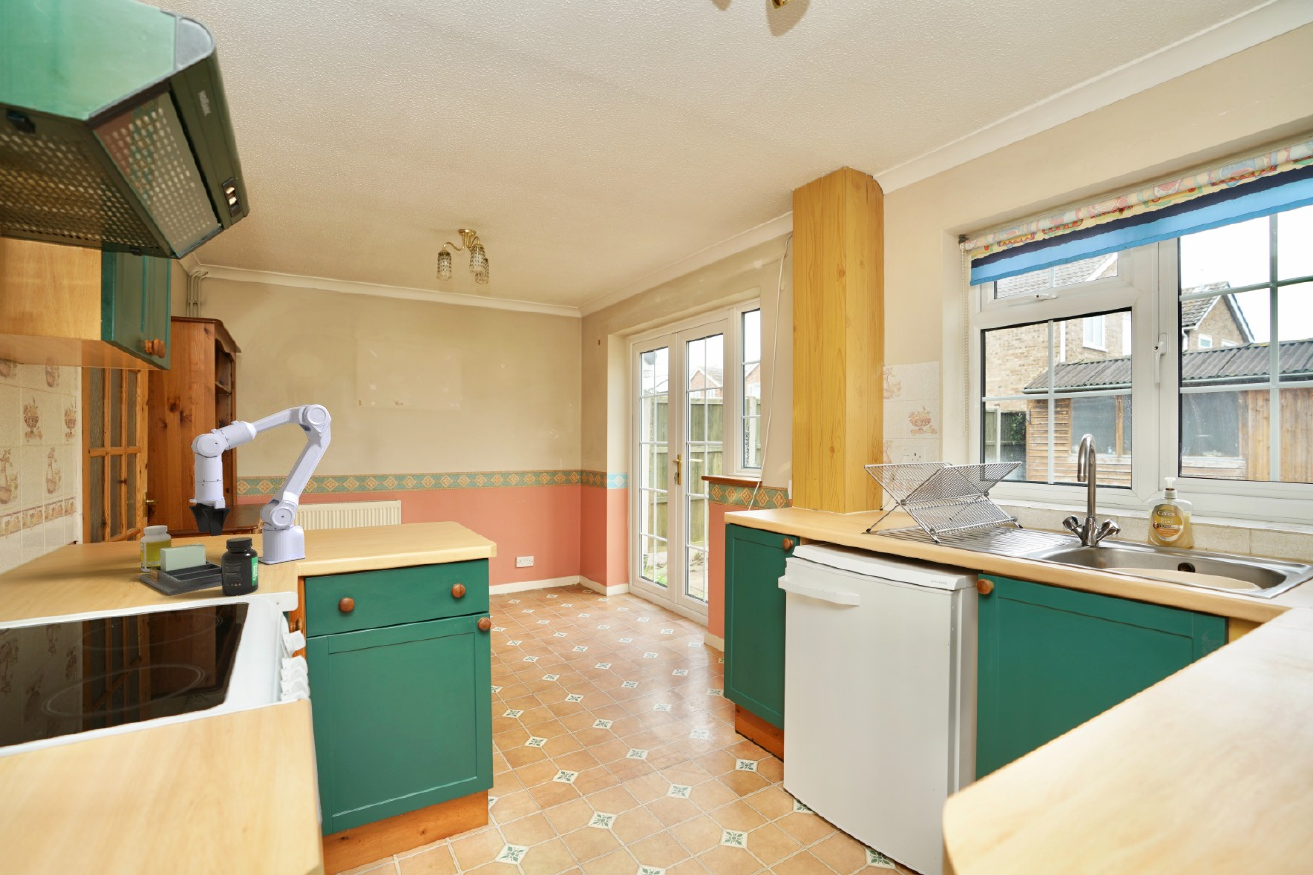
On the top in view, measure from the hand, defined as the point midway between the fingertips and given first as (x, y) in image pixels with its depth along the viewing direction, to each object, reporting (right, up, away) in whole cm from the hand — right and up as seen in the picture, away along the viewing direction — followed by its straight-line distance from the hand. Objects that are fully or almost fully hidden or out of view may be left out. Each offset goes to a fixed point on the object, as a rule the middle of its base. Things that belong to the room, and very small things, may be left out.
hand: (210, 533), depth 155 cm
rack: (+2, -10, -9) cm, 13 cm away
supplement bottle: (+20, -11, -18) cm, 29 cm away
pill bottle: (-14, -10, +1) cm, 17 cm away
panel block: (-3, -9, -5) cm, 10 cm away
